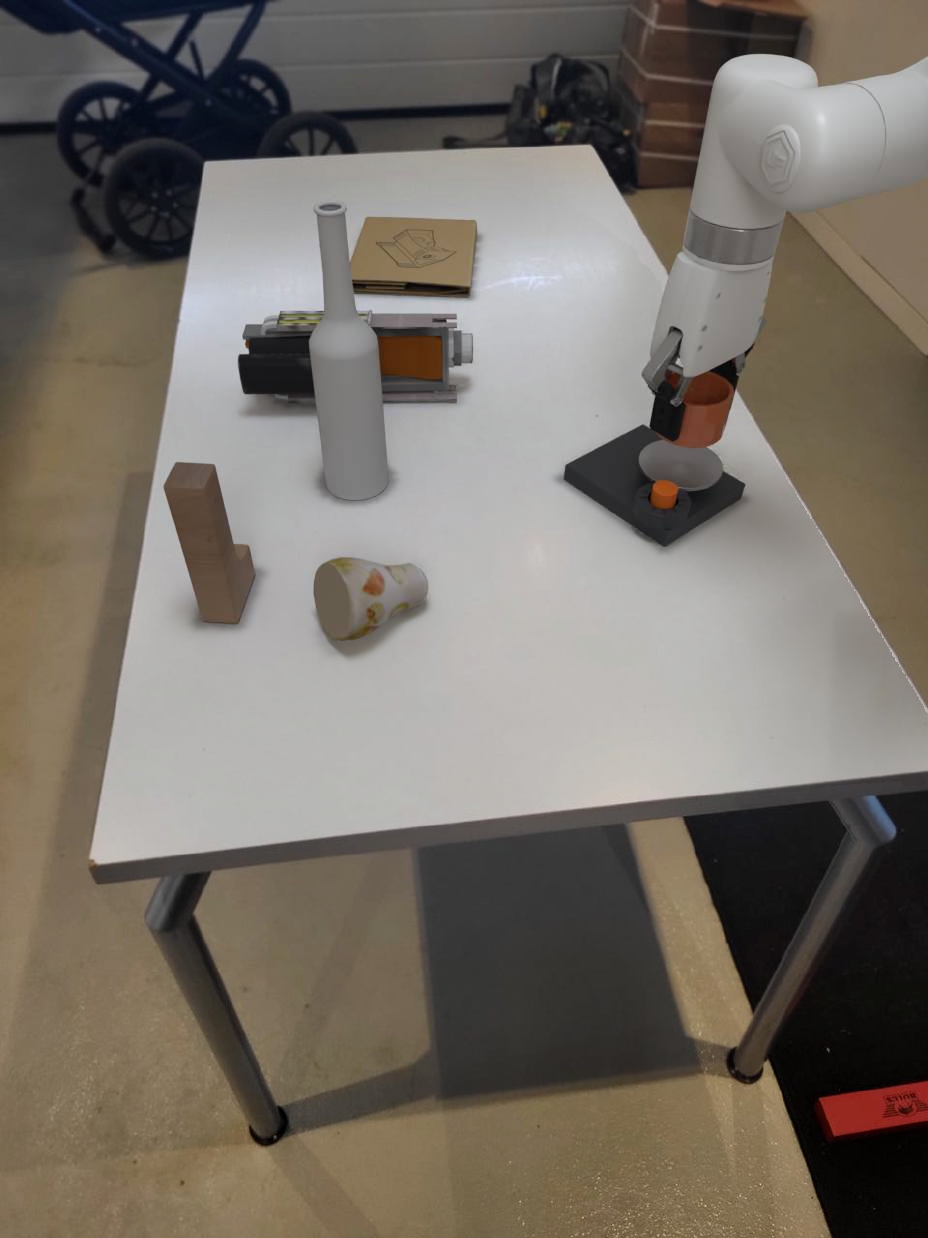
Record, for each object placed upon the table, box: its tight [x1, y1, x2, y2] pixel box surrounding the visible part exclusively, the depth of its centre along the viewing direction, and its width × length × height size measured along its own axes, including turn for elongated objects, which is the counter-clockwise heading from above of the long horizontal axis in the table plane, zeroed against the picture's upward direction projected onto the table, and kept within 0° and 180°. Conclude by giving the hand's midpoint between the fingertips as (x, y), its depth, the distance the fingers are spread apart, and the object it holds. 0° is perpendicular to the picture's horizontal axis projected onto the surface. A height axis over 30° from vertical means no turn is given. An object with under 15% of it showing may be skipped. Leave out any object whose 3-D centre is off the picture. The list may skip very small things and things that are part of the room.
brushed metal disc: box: [638, 440, 724, 491], centre depth 89 cm, size 8×8×1 cm
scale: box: [563, 423, 746, 547], centre depth 91 cm, size 14×13×4 cm
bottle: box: [309, 199, 389, 501], centre depth 83 cm, size 7×7×28 cm
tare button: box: [650, 480, 678, 509], centre depth 85 cm, size 2×2×2 cm
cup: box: [655, 371, 735, 448], centre depth 84 cm, size 7×7×4 cm
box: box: [350, 216, 478, 298], centre depth 129 cm, size 21×18×2 cm
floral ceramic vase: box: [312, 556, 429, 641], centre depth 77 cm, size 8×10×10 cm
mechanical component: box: [237, 309, 474, 404], centre depth 100 cm, size 9×26×10 cm, turn 91°
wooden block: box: [162, 461, 256, 624], centre depth 75 cm, size 7×3×15 cm, turn 176°
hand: (690, 418), depth 85 cm, fingers closed on cup, 6 cm apart
